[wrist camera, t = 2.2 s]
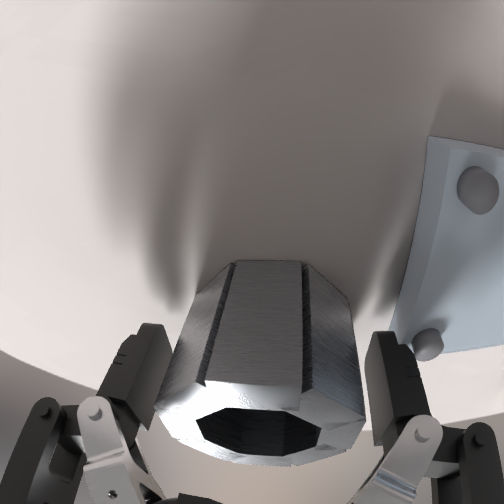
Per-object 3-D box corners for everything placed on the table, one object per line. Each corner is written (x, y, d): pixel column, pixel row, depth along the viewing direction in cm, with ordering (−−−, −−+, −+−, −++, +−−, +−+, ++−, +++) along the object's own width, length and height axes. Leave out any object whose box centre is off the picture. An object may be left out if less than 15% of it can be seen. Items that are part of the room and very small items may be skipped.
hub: (355, 261, 10) (384, 383, 6) (335, 368, 13) (340, 465, 9) (185, 259, 11) (131, 369, 7) (209, 363, 14) (185, 455, 10)
